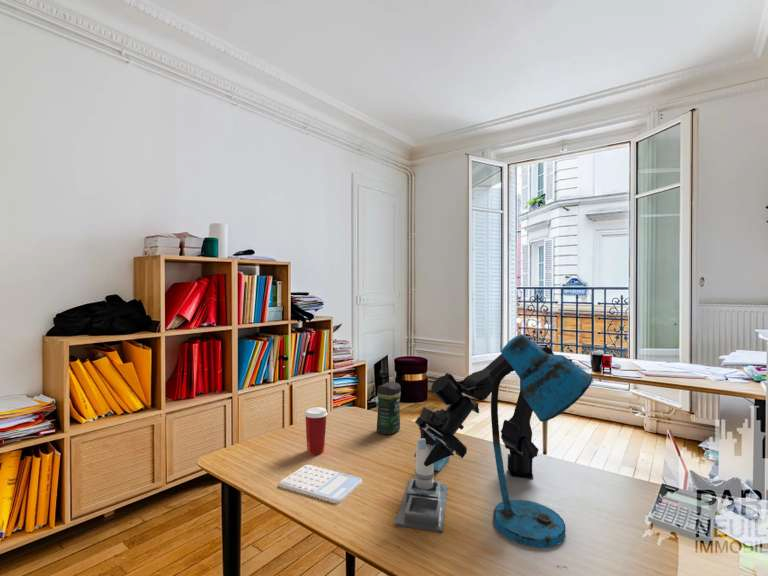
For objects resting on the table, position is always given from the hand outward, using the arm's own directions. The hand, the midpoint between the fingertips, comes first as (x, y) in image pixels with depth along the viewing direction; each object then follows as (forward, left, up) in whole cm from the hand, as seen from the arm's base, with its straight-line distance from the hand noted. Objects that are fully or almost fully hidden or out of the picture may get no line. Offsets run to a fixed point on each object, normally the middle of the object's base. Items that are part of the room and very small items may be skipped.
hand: (420, 461), depth 105 cm
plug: (-1, -1, -7) cm, 7 cm away
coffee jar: (+18, -45, -10) cm, 49 cm away
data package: (-3, -21, -10) cm, 23 cm away
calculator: (+28, 0, -10) cm, 30 cm away
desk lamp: (-29, +7, -10) cm, 31 cm away
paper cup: (+38, -20, -10) cm, 44 cm away
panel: (-2, +4, -9) cm, 10 cm away
